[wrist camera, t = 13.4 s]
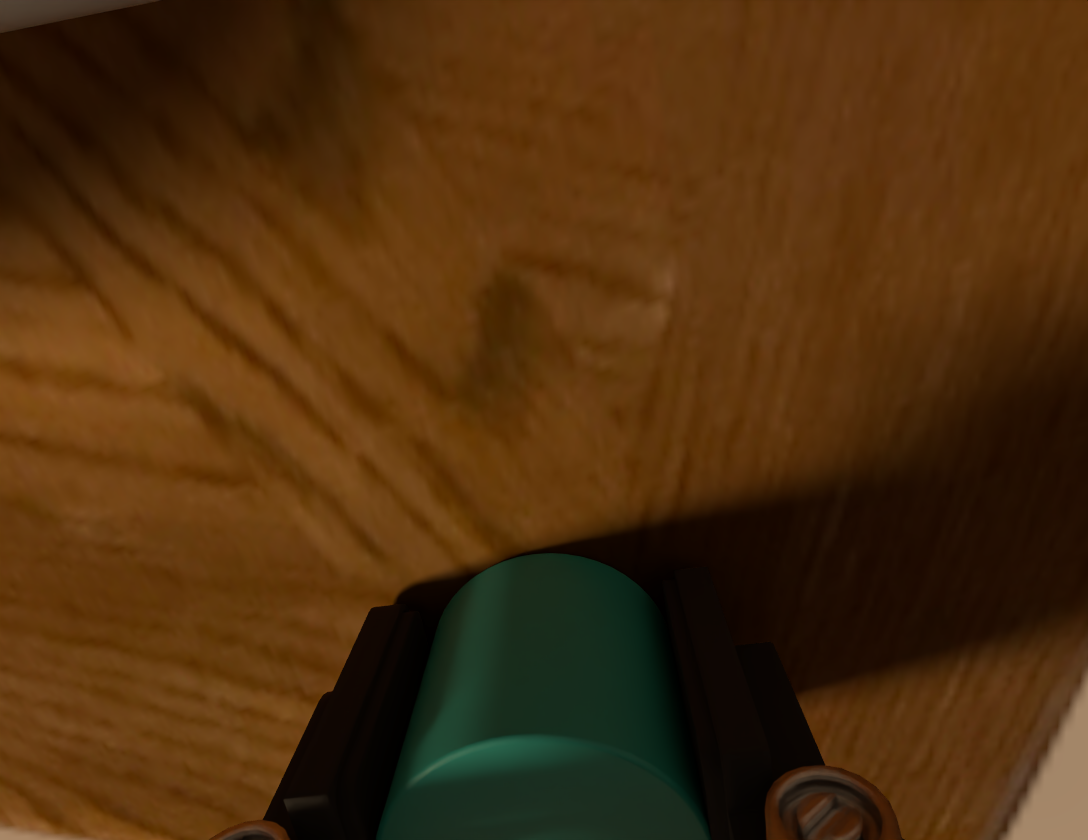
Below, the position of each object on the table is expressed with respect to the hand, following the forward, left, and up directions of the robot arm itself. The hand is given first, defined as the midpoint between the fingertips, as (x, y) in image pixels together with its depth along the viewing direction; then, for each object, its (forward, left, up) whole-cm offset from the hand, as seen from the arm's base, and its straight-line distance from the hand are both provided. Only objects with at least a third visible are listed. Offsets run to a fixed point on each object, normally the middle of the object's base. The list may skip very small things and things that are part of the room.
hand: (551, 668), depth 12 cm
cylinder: (0, 0, 0) cm, 0 cm away
